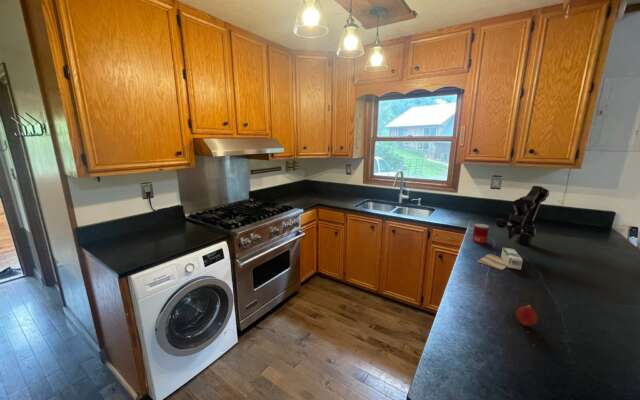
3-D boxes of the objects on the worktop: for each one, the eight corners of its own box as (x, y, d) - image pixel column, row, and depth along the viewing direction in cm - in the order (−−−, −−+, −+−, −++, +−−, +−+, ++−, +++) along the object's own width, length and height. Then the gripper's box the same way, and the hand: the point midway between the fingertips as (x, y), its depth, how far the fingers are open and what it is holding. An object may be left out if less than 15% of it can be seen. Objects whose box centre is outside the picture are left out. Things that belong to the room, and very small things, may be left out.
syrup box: (514, 248, 143) (523, 259, 130) (512, 258, 144) (521, 270, 131) (502, 247, 145) (509, 257, 132) (500, 257, 146) (507, 267, 133)
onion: (510, 319, 95) (514, 300, 93) (525, 319, 95) (529, 299, 93) (523, 331, 89) (528, 310, 87) (539, 330, 90) (544, 310, 88)
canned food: (488, 244, 165) (491, 227, 163) (474, 243, 167) (477, 226, 164) (483, 239, 172) (486, 224, 170) (470, 238, 174) (472, 223, 171)
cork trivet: (488, 254, 150) (489, 253, 150) (513, 262, 140) (513, 261, 140) (476, 261, 140) (476, 261, 140) (501, 270, 131) (501, 269, 131)
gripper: (499, 205, 154) (488, 227, 151) (538, 212, 140) (527, 236, 136) (502, 215, 161) (492, 236, 157) (540, 223, 146) (530, 246, 143)
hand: (509, 238), depth 148 cm, fingers closed
